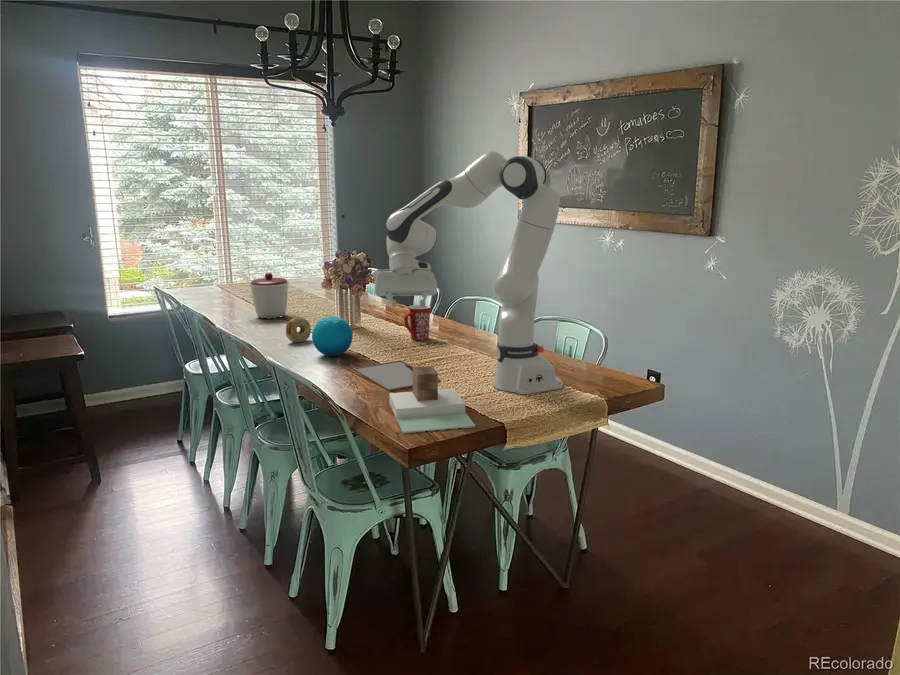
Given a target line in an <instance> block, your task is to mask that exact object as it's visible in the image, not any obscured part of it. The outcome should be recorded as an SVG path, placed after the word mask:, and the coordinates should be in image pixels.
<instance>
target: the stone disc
mask: <svg viewBox="0 0 900 675" xmlns="http://www.w3.org/2000/svg"><path fill="white" fill-rule="evenodd" d="M298 327H299V331H298ZM285 335H286V337H287V339H288V340H289V341H290V342H292V343H301V342H304V341H307V340H308V339H309V338H310V336H311V335H312V328H311V324H310V322H309V321H308V319H306V318H304V317H300V316H299V317H298V316H297V317H293V318H290V320H288V322H287V323H286V326H285Z"/></svg>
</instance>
